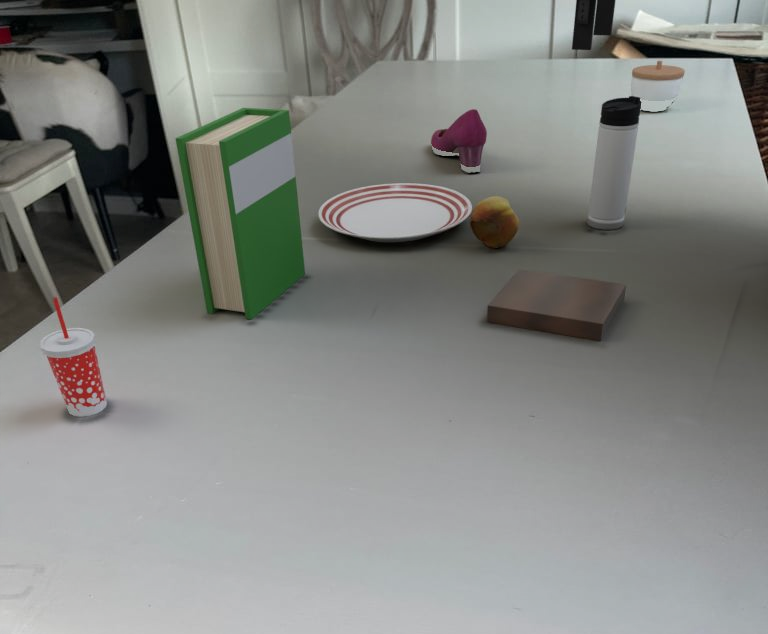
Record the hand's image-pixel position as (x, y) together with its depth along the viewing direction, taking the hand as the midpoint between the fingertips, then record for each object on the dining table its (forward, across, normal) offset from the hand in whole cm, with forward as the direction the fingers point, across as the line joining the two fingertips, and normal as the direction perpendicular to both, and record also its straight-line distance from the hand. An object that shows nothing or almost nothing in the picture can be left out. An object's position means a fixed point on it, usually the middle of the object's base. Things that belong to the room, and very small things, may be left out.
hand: (592, 42), depth 123 cm
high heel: (+29, -35, -34) cm, 57 cm away
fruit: (+29, +12, -10) cm, 33 cm away
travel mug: (+29, -4, +5) cm, 29 cm away
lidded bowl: (+29, -93, -3) cm, 98 cm away
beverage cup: (+29, +80, -40) cm, 94 cm away
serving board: (+29, +34, +6) cm, 45 cm away
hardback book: (+29, +43, -38) cm, 64 cm away
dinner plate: (+29, +8, -30) cm, 42 cm away
